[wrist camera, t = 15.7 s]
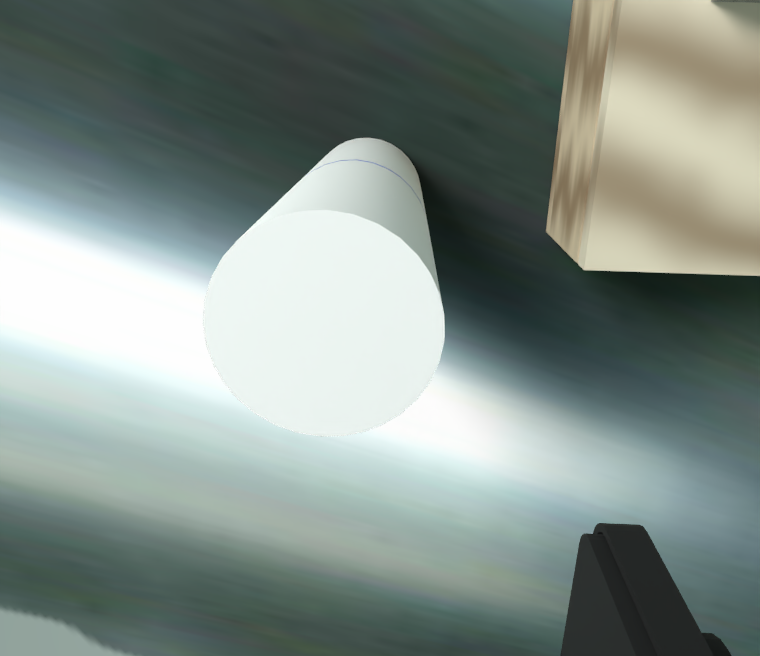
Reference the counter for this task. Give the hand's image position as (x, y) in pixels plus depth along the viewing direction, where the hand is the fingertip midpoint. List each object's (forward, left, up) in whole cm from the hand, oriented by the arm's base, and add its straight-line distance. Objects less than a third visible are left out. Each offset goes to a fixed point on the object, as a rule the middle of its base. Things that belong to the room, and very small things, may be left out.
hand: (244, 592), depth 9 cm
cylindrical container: (0, 0, -36) cm, 36 cm away
